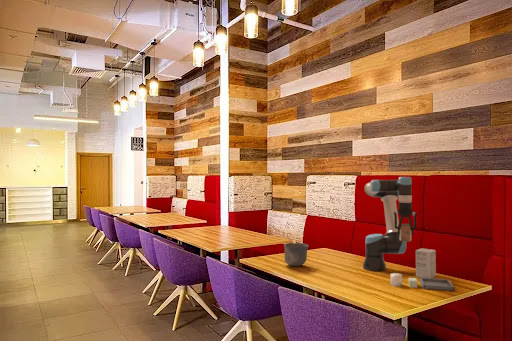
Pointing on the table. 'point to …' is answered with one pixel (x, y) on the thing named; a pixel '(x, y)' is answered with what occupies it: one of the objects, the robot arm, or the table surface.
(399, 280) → the glossy white capsule
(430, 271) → the supplement box
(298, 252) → the bowl
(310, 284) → the table surface
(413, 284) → the cream box
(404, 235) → the walnut block
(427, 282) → the tray
